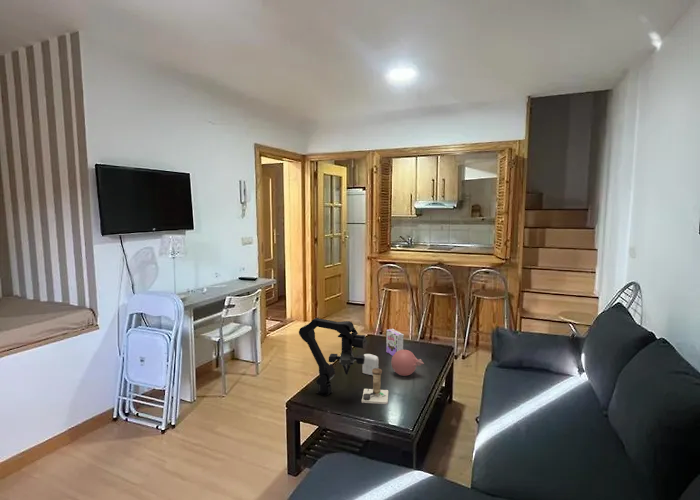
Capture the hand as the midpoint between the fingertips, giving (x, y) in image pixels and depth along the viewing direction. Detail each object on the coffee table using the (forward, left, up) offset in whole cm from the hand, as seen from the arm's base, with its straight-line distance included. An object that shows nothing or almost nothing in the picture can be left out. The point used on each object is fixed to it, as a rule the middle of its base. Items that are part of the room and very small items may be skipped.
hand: (346, 374), depth 211 cm
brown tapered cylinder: (+11, +8, -12) cm, 18 cm away
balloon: (+12, +45, -13) cm, 48 cm away
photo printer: (-7, +33, -13) cm, 36 cm away
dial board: (+12, +10, -13) cm, 20 cm away
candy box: (-12, +70, -13) cm, 72 cm away
